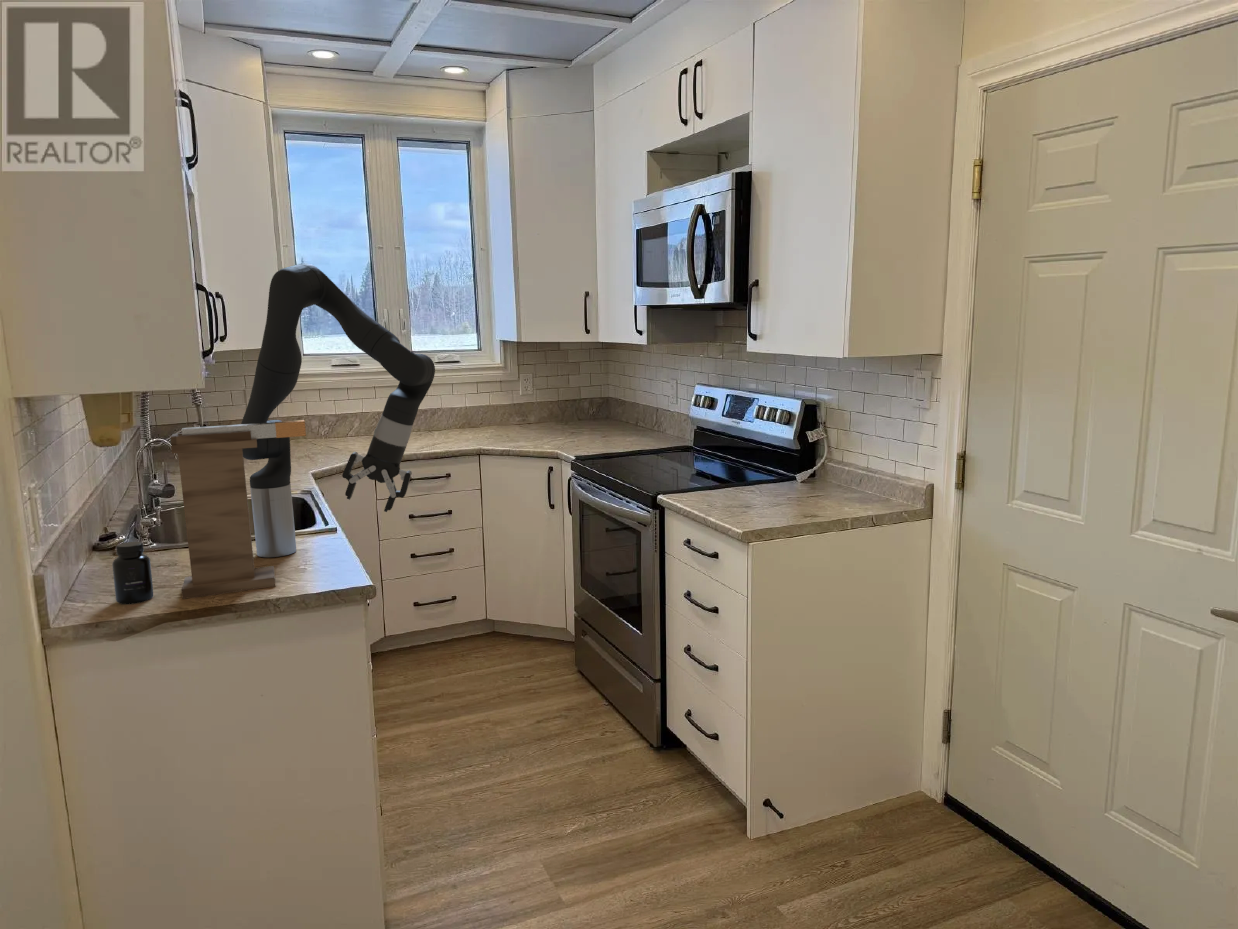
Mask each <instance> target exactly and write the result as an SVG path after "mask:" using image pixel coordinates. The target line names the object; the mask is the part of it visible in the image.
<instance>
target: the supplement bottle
mask: <svg viewBox="0 0 1238 929" xmlns="http://www.w3.org/2000/svg"><path fill="white" fill-rule="evenodd" d="M115 549H116V555H117V557H116V558H115V559H114V560H113V561H112V563H111V564H112V565H111V566H112V573H113V574H112V575H113V584H114V595H115V601H116V603H117V604H120V605H134V604H135V605H136V604H140V603H144V602H147V601H149V600H151V599H153V598H154V587H153V586H154V585H153V577H152V576H153V575H152V566H151V558H150V557H149V556H148V555H147V554H145V553H144V551H145V549H144V542H142V541H128V542H122V543H119V544H117V545H116V546H115Z"/></svg>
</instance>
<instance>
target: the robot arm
mask: <svg viewBox="0 0 1238 929" xmlns="http://www.w3.org/2000/svg"><path fill="white" fill-rule="evenodd" d="M268 291H269V292H268V301H267V311H266V312H267V313H266V321H265V326H264V331H263V337H262V342H261V346H260V351H259V354H258V356H257V357H258V358H257V361H256V366H255V373H254V377H253V384H252V388H251V392H250V395H249V400H248V403H247V406H246V409H245V412H244V414H243V417H242V420H241V423H240V424H256V423H272V422H280V421H281V420H280V419H270V420H269V418H270V416H271V414H272V413H273V412H274V411H275V410H276V409H277V407H278V406H279V405H280V404H282V402H284V400H285V399H287V397H288V396H289V395H290V394H291V393H292V391H293V390H294V388H295V387H296V385H297V383H298V380H299V377H300V376H299V375H300V371H301V367H302V363H303V362H302V361H303V360H302V359H303V357H302V356H303V355H302V351H301V348H300V346H299V343H298V339H297V330H298V329H297V327H298V324H299V320H300V317H301V314H302V312H303V310H304V309H305V308H308V307H312V306H313V305H314V306H316V307H319V308H321V309H322V310H324V311H326V312H327V313H328V314H330V315H331V316H332V317H333V318H334V319H335V320H336V321H337V322H338V324H339V326H341V328H342V330H343V332H344V334H345V335H346V337H347V339H349V341H351V343H352V344H353V345H354V346H355V347H356V348H357V349H359V350H361V351H362V352H364V353H365V354H366V355H367V356H369V357H370V358H372V359H373V360H374V361H376V362H378V363H379V364H380V366H381V367H383V369H384V370H385V371H386V372H387V373H389V374H390V375H391V376H392V378H394V379H396V380H397V381H399V383H398V384H397V387H396V389H395V390H394V391H392V392H391V393H390V394H389V396H388V397H387V399H386V402H385V405H384V408H383V410H382V414H381V415H380V418H379V420H378V422H377V424H376V428H375V429H374V431H373V435H372V437H371V438H372V439H371V440H370V444H369V447H368V450H367V452H366V454H365V455H364V456H363V455H362V454H359V453H358V452H357V451H353V452H352V453H351V454H350V456H349V458H348V460H347V463H346V465H345V468H344V470H343V472H342V474H341V475H342V476H341V477H342V478H343V479H345V480H346V481H348V484H347V487H346V489H345V494H344V495H345V496H346V500H349V501H350V500H351V498H352V497H353V494H354V491H355V488H356V486H357V482H358V481H360V480H361V479H363V478H365V477H366V478H368V479H369V480H372V481H377V482H378V483H380V484H383V483H385V485H386V489H387V490H388V493H389V496H388V498H387V501H386V503H385V507H384V509H383V512H386V513H387V512H388V511H391V510H392V508H393V507H394V503H395V501H396V498H401V499H402V498H405V496H406V494H407V491H408V488H409V485H410V480H411V477H412V475H413V472H412V471H411V470H405V469H401V467H400V465H401V462H402V460H403V457H404V455H405V452H406V449H407V446H408V443H409V441H410V437H411V434H412V429H413V426H414V423H415V420H416V417H417V414H418V413H419V412H418V411H419V408H420V406H421V404H422V402H423V401H424V399H425V397H426V395H427V394H428V391H429V390H430V387H431V385H432V384H433V381H434V379H435V375H436V366H435V363H434V361H433V359H432V358H431V357H430V356H428V355H426V354H423V353H415V352H413V351H411V350H410V349H409V348H407V347H405V346H404V345H403V344H402V343H401V340H400V339H399V338H398V337H397V336H396V335H395V334H394V333H393V332H391V331H390V330H389V329H387V328H386V327H384V326H383V325H382V324H380V323H379V322H377V321H376V320H375V319H374V318H372V317H371V316H369V314H367V313H366V312H365V311H364V310H362V309H361V307H359V306H358V305H357V304H356V303H355V302H354V301H353V300H351V298H349V296H348V295H346V293H344V291H343V290H341V289H340V288H339V287H338V286H337V285H336V284H335V282H334V281H332V279H330V278H329V277H328V275H327V274H325V273H324V272H323V271H322V270H321V269H320V268H319V267H317V266H315V265H314V264H311V263H297V264H294V265H290V266H287V267H283V268H281V269H279V270H278V271H276V272H275V273H274V274H273V275H272V278H271V280H270V284H269V289H268ZM290 438H291V437H283V438H276V437H275V438H261V439H257V447H256V448H242V449H243V459H246V460H247V461H248V460H249V461H258V460H266V459H267V463H266V464H265V465H264V466H262V468H261V469H259V470H257V471H256V472H254V473H253V474H251V475H250V476H249V487H250V498H251V508H252V517H253V518H252V519H253V526H254V527H253V528H254V537H255V538H254V540H255V549H256V555H257V557H260V558H275V557H276V558H277V557H284V556H288V555H292V554H294V553H296V552H297V541H296V529H295V528H296V527H295V519H294V507H293V495H292V486H291V474H292V458H291V457H292V456H291V439H290ZM359 462H361V463H362V467H363V469H362V470H360V471H358V472H357V473H356V474H353V473H351V472H352V470H353V468H354V465H355V464H356V465H357V464H358V463H359ZM398 475H399V476H400V480H401V481H402V484H401V488H400V490H398V489H397V486H396V483H395V480H394V478H395V477H396V476H398Z"/></svg>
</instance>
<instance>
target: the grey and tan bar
mask: <svg viewBox="0 0 1238 929" xmlns="http://www.w3.org/2000/svg"><path fill="white" fill-rule="evenodd" d="M243 431H251V439H261V438H275V437H276V438H283V437H290V438H296V437H306V436H307V431H306V421H305V420H304V419H300V420H299V419H298V420H284V421H283V420H280V422H272V423H256V424H241V423H239V424H229V425H228V424H227V425H224V424H223V425H210V426H197V427H196V426H195V427H194V426H193V427H182V428H181V433H182V435H197V434H212V433H227V432H243Z"/></svg>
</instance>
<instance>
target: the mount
mask: <svg viewBox="0 0 1238 929" xmlns="http://www.w3.org/2000/svg"><path fill="white" fill-rule="evenodd" d="M170 442H171V443H170V444H171V446H170V449H171V455H172V454H177V455H178V456H177V458H178V466H179V473H180V484H181V491H182V499H183V500H182V501H183V509H184V519H185V527H186V528H185V529H186V536H187V537H186V538H187V545H188V554H189V562H190V563H189V564H190V570H191V571H190V572H191V573H190V574H191V576H185V577H184V580H183V583H182V587H181V597H182V599H183V600H184V599H190V598H198V597H204V596H205V597H206V596H213V595H220V594H226V593H235V592H243V591H250V590H257V589H263V588H265V589H266V588H273V587H276V577H275V566H274V565H269V566H263V567H261V566H260V567H255V562H254V551H253V542H252V533H251V522H250V521H251V520H250V511H249V510H250V509H249V503H248V502H249V501H248V492H247V483H246V482H247V481H246V472H245V460H244V459H245V458H244V457H243V449H242V448H256V447H257V439H251V431H243V432H227V433H212V434H197V435H182V432H179V433H172V435H171V436H170Z"/></svg>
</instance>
